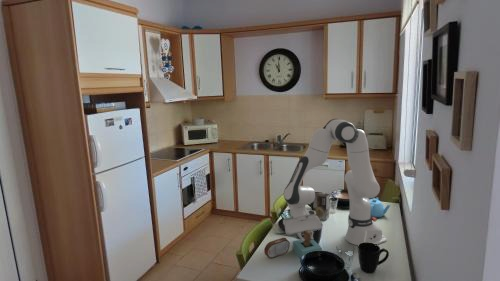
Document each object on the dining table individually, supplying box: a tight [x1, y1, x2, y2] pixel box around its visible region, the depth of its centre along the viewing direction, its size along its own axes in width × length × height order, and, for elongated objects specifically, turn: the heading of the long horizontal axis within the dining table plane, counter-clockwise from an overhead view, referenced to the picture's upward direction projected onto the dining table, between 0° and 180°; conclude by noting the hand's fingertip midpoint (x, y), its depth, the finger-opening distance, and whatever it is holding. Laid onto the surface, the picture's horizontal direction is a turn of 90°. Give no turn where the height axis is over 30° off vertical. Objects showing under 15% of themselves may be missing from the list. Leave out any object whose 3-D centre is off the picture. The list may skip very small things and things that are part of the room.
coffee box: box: [312, 191, 331, 221], centre depth 207 cm, size 9×6×16 cm
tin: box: [263, 237, 291, 259], centre depth 164 cm, size 15×3×8 cm, turn 121°
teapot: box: [369, 197, 391, 219], centre depth 211 cm, size 15×15×11 cm
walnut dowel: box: [303, 230, 311, 248], centre depth 165 cm, size 4×4×10 cm
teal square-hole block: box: [292, 239, 323, 259], centre depth 166 cm, size 11×11×5 cm
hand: (307, 240), depth 164 cm, fingers closed on walnut dowel, 3 cm apart
